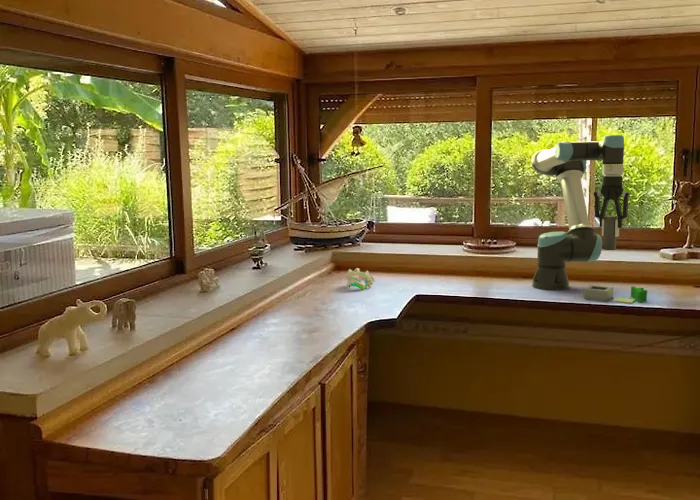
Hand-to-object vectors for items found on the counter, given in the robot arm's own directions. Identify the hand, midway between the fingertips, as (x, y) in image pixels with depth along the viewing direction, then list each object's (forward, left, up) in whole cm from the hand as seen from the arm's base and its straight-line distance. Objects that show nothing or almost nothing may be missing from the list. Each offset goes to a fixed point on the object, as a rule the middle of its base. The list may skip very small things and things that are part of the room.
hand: (610, 235), depth 275 cm
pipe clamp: (+11, +6, -26) cm, 28 cm away
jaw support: (-96, -35, -26) cm, 105 cm away
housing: (-4, +1, -25) cm, 26 cm away
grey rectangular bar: (0, 0, -5) cm, 5 cm away
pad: (+6, 0, -25) cm, 26 cm away
